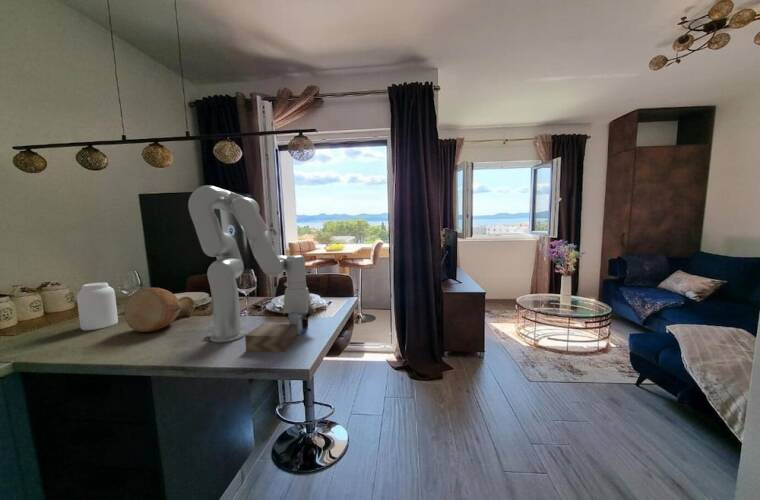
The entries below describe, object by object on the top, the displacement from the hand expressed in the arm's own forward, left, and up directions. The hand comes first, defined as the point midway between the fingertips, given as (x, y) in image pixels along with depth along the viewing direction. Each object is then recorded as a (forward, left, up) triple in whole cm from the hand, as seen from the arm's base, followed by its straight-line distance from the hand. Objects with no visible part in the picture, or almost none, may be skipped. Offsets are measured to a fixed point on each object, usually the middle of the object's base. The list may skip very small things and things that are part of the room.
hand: (299, 327), depth 119 cm
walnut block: (-5, -13, -2) cm, 14 cm away
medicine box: (0, 0, -2) cm, 2 cm away
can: (-97, +2, -2) cm, 97 cm away
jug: (-66, +5, -2) cm, 66 cm away
